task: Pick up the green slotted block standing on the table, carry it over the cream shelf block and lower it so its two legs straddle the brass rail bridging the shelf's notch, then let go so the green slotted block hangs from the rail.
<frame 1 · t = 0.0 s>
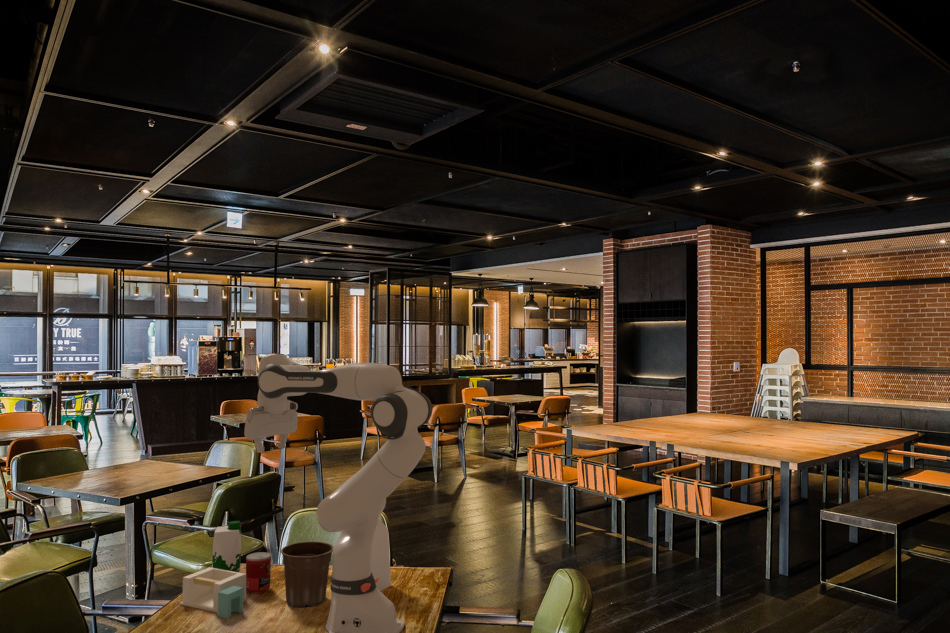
hand: (271, 450, 198), 48 cm above the table, fingers open, 8 cm apart
canned food: (257, 589, 211), on the table
green slotted block: (230, 613, 191), on the table
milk: (366, 588, 213), on the table
shelf: (207, 604, 198), on the table
milk carton: (226, 582, 218), on the table
plant pot: (306, 600, 202), on the table
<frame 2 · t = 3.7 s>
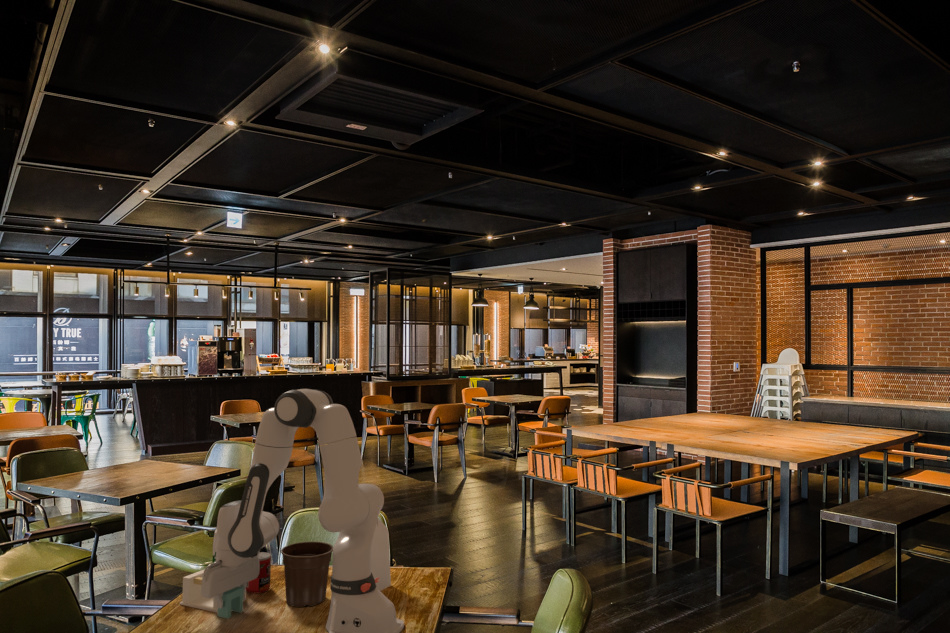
hand: (230, 602, 191), 3 cm above the table, fingers closed on green slotted block, 6 cm apart
green slotted block: (230, 613, 191), on the table, touching gripper
everything else where it was.
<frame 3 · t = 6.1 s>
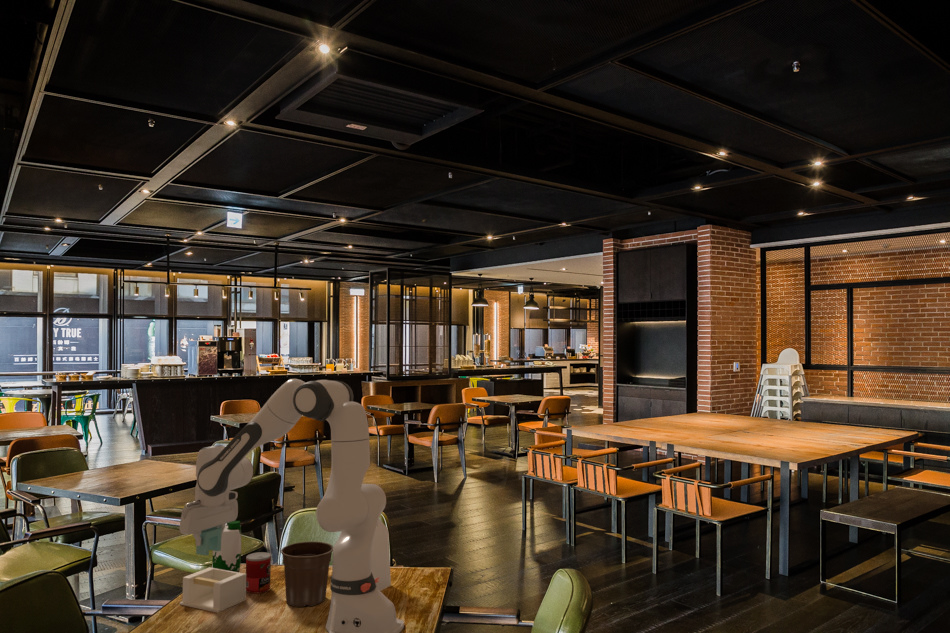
hand: (209, 542, 199), 19 cm above the table, fingers closed on green slotted block, 6 cm apart
green slotted block: (208, 552, 199), point 16 cm above the table, touching gripper
everything else where it was.
when the fingers open (8 cm above the table, at t = 8.6 s): green slotted block drops 2 cm, resting on shelf.
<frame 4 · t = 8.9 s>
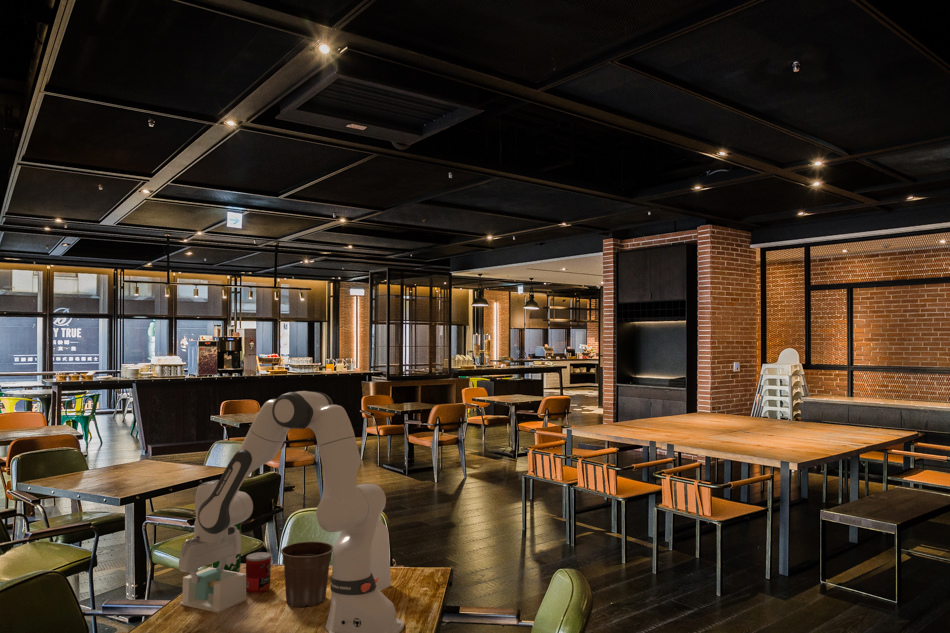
hand: (208, 577, 199), 8 cm above the table, fingers open, 8 cm apart
green slotted block: (207, 596, 198), point 2 cm above the table, touching shelf
everything else where it was.
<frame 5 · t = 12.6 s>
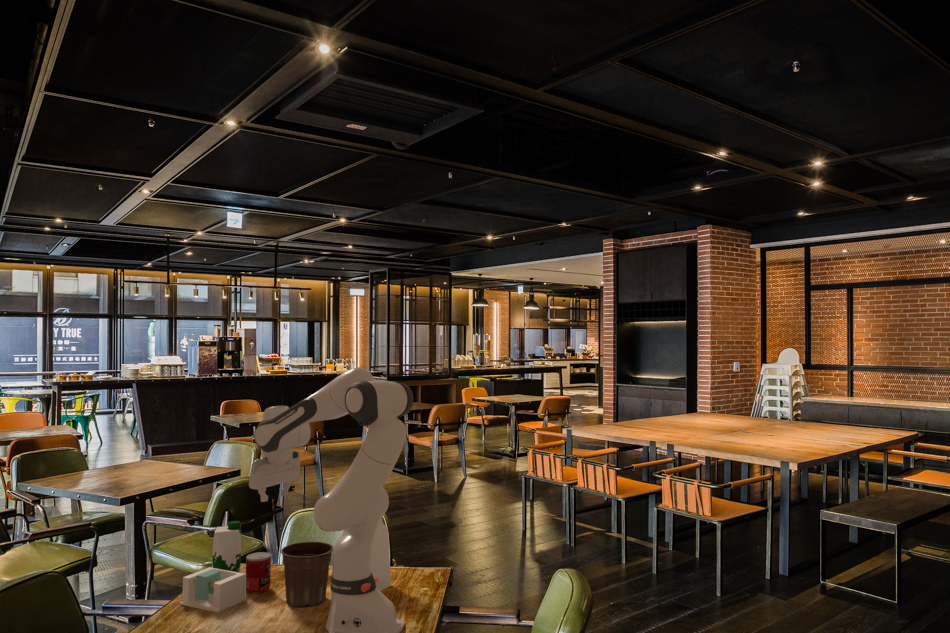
hand: (274, 498, 207), 31 cm above the table, fingers open, 8 cm apart
nothing on the table moved.
at the end: green slotted block 0.1 cm off-centre on the shelf, point 2.5 cm above the shelf's base; green slotted block touching shelf; the gripper is holding nothing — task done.
